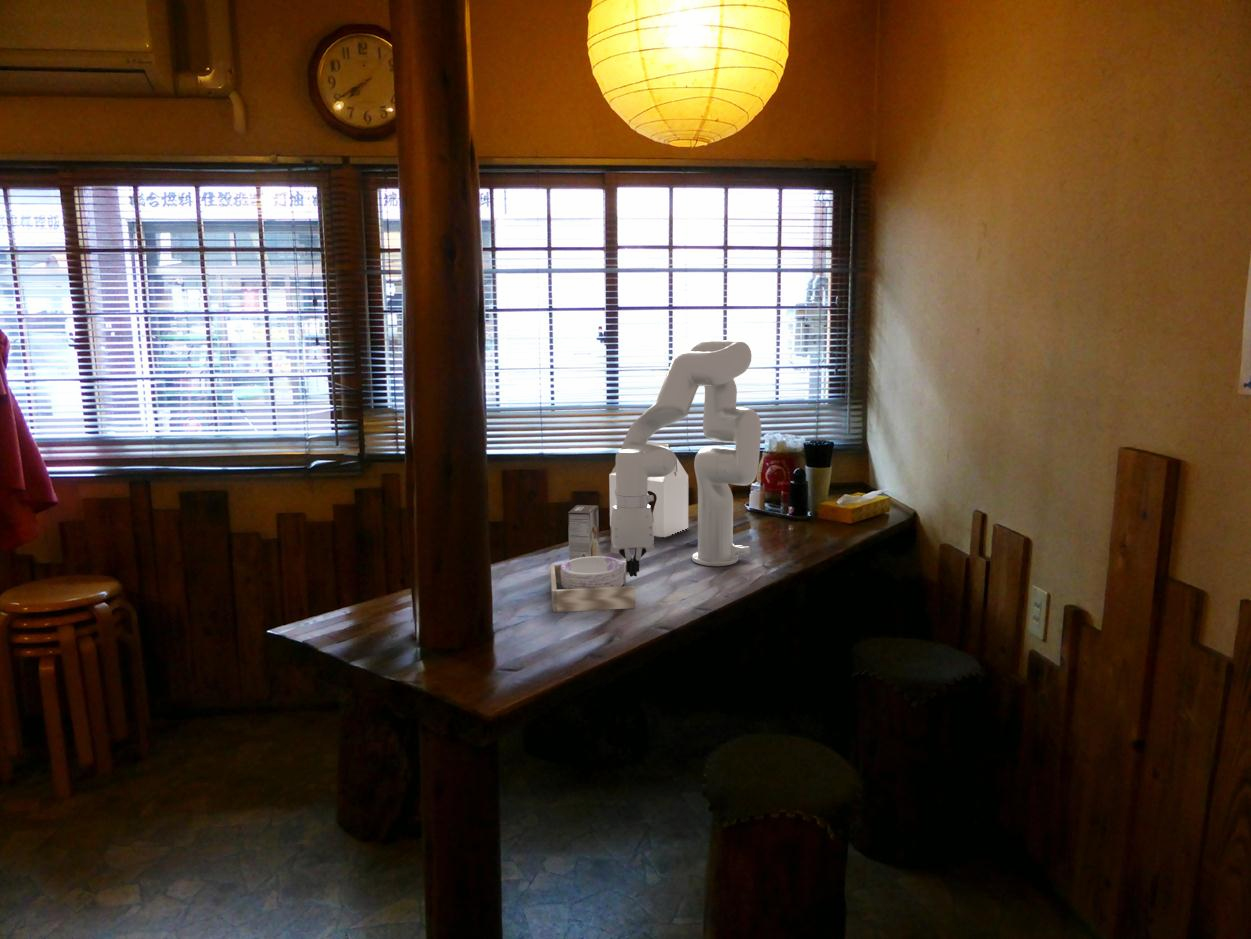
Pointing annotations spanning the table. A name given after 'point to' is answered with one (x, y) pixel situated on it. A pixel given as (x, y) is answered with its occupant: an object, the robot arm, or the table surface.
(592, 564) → the paper bowls
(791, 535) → the table surface
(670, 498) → the gable box
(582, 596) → the box
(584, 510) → the coffee box
